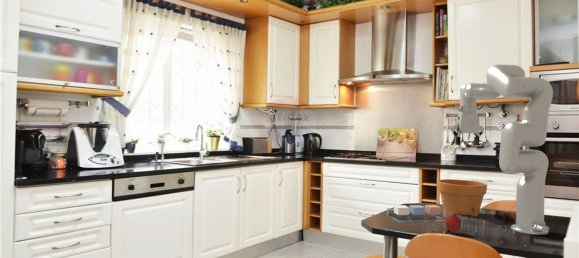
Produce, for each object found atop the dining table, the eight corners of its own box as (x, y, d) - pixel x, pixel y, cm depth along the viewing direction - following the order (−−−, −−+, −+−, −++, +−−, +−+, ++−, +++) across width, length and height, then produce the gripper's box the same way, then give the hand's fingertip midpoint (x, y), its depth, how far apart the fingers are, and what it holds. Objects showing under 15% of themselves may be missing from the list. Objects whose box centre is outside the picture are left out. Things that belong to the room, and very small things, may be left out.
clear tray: (449, 224, 176) (449, 213, 176) (398, 225, 173) (398, 214, 173) (434, 217, 189) (434, 207, 189) (386, 218, 186) (386, 208, 186)
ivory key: (409, 214, 178) (409, 207, 178) (398, 215, 178) (398, 207, 178) (404, 212, 183) (404, 205, 183) (393, 212, 182) (394, 205, 182)
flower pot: (477, 210, 206) (478, 179, 206) (493, 220, 186) (494, 185, 185) (432, 208, 209) (432, 178, 208) (443, 218, 188) (444, 184, 187)
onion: (447, 230, 166) (448, 209, 166) (462, 232, 163) (463, 211, 163) (442, 232, 162) (442, 211, 162) (457, 235, 158) (458, 214, 158)
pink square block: (440, 214, 180) (441, 207, 180) (430, 214, 180) (430, 207, 180) (435, 211, 185) (435, 205, 185) (424, 212, 184) (425, 205, 184)
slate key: (425, 214, 179) (425, 207, 179) (414, 214, 179) (414, 207, 179) (420, 212, 184) (420, 205, 184) (409, 212, 183) (409, 205, 183)
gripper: (455, 109, 206) (454, 145, 206) (488, 110, 208) (488, 145, 208) (447, 110, 213) (447, 144, 213) (479, 110, 216) (479, 144, 216)
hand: (467, 144), depth 211 cm, fingers open, 9 cm apart
